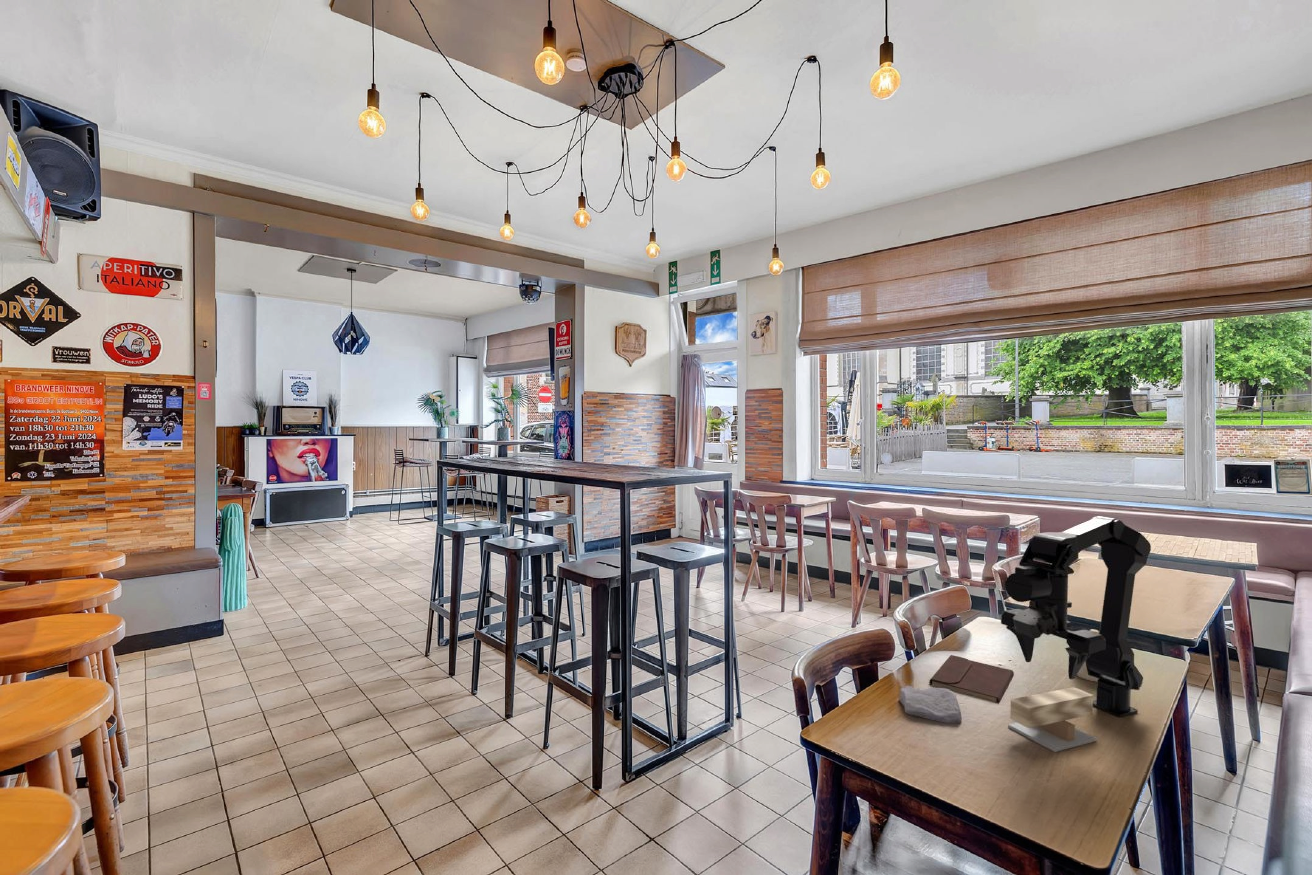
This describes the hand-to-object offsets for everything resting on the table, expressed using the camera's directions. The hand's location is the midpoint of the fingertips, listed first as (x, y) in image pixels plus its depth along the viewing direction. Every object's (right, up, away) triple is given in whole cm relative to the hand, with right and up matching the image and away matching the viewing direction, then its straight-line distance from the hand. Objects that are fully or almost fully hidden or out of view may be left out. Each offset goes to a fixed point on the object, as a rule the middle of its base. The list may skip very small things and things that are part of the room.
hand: (1049, 670), depth 125 cm
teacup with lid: (+30, -12, +28) cm, 42 cm away
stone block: (-21, -12, +7) cm, 26 cm away
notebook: (-3, -12, +24) cm, 27 cm away
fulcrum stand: (-1, -12, -2) cm, 13 cm away
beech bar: (-1, -9, -2) cm, 9 cm away
